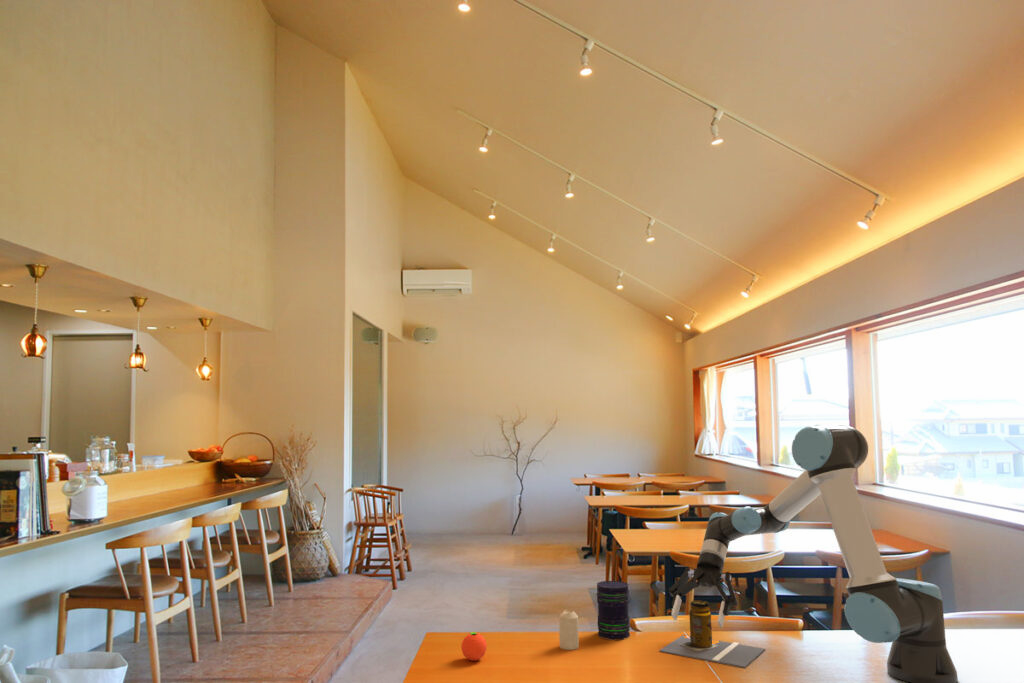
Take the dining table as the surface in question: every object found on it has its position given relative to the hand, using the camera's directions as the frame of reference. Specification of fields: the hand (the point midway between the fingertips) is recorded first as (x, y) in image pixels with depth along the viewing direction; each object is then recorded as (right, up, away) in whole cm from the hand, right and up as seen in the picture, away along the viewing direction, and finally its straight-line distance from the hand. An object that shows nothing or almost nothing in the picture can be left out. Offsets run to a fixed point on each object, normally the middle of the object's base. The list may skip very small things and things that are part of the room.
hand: (696, 620), depth 193 cm
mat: (+4, -7, -3) cm, 9 cm away
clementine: (-63, -7, -8) cm, 64 cm away
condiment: (+1, -8, 0) cm, 8 cm away
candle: (-36, -8, +1) cm, 37 cm away
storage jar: (-22, -10, +13) cm, 27 cm away
